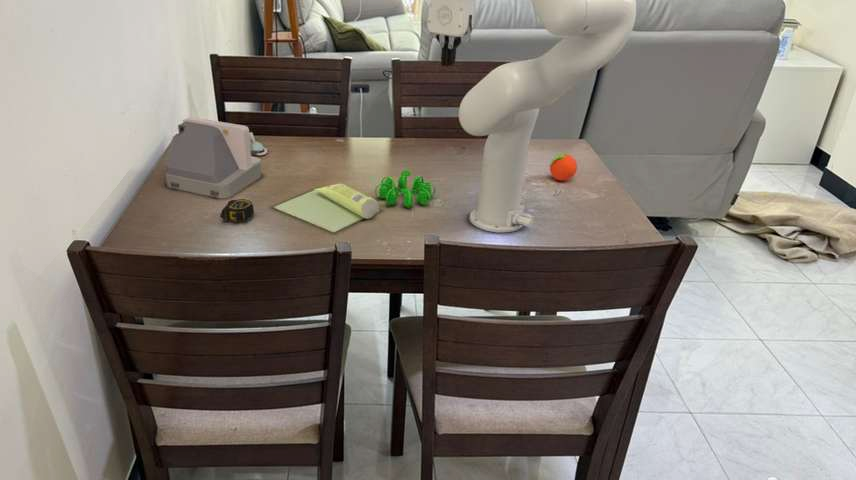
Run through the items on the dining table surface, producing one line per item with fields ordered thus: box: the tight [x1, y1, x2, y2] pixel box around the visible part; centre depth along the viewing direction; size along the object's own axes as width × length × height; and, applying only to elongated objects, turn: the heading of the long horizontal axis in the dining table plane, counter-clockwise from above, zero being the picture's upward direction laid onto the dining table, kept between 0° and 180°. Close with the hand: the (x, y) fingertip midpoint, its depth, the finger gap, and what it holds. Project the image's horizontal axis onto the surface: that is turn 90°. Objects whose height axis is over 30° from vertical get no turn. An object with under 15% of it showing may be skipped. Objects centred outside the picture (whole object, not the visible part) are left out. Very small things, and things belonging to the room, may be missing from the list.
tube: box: [314, 183, 379, 220], centre depth 163 cm, size 6×5×20 cm
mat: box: [273, 189, 380, 233], centre depth 162 cm, size 20×16×1 cm
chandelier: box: [374, 170, 436, 209], centre depth 167 cm, size 15×15×7 cm
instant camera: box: [165, 116, 262, 199], centre depth 173 cm, size 21×21×15 cm
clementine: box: [549, 153, 578, 181], centre depth 178 cm, size 8×7×7 cm
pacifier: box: [249, 131, 268, 157], centre depth 194 cm, size 7×6×6 cm
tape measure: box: [219, 198, 255, 222], centre depth 157 cm, size 7×7×4 cm
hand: (447, 65), depth 159 cm, fingers closed
